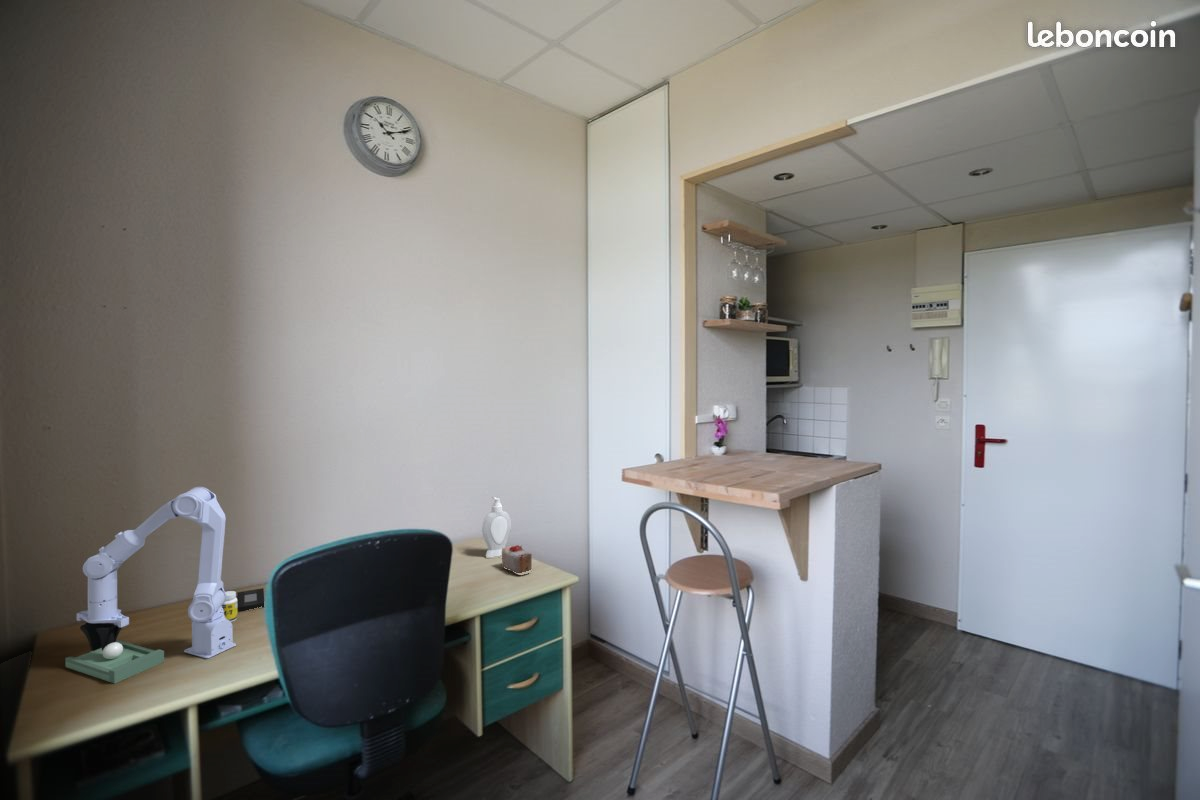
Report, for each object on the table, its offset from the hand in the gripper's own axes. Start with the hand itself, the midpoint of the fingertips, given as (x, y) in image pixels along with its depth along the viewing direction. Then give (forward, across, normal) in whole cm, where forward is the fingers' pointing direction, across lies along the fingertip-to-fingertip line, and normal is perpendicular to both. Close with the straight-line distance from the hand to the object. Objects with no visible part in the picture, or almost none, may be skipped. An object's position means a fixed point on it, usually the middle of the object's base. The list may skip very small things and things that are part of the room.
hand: (102, 650), depth 144 cm
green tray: (+3, -5, 0) cm, 6 cm away
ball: (-1, -4, 0) cm, 4 cm away
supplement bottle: (+3, -11, -27) cm, 30 cm away
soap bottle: (+1, -66, -105) cm, 124 cm away
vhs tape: (+3, -6, -40) cm, 41 cm away
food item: (+1, -80, -90) cm, 121 cm away
